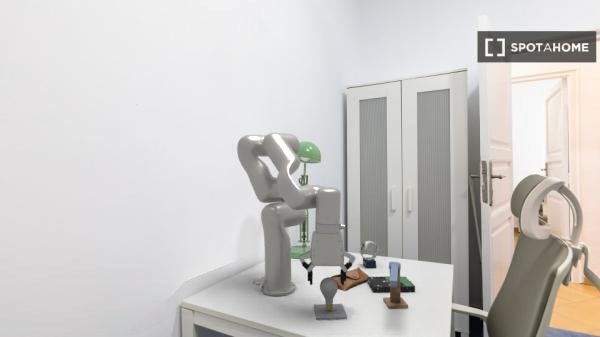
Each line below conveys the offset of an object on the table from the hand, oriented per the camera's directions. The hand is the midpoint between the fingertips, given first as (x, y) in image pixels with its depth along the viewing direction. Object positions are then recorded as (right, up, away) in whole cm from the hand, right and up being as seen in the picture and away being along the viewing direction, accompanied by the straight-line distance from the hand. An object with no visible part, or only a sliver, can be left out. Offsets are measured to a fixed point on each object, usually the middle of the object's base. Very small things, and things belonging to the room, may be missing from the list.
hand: (326, 283), depth 96 cm
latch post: (+22, -8, +4) cm, 24 cm away
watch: (+22, -8, +42) cm, 48 cm away
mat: (+1, -9, -1) cm, 9 cm away
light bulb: (+1, -8, -1) cm, 8 cm away
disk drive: (+25, -9, +18) cm, 32 cm away
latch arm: (+20, +3, -3) cm, 20 cm away
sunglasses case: (+12, -9, +23) cm, 28 cm away
